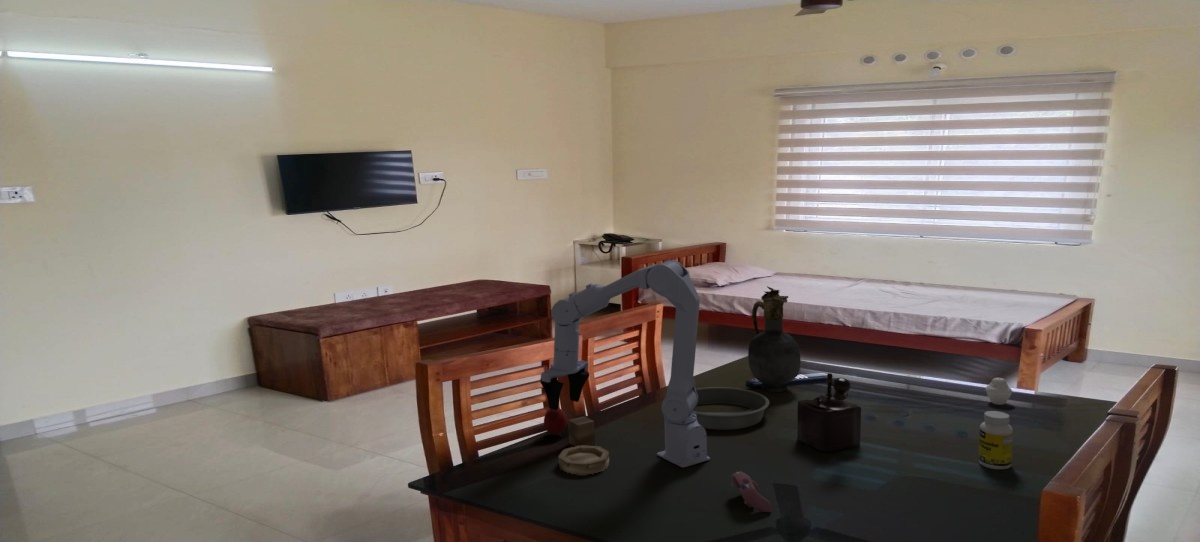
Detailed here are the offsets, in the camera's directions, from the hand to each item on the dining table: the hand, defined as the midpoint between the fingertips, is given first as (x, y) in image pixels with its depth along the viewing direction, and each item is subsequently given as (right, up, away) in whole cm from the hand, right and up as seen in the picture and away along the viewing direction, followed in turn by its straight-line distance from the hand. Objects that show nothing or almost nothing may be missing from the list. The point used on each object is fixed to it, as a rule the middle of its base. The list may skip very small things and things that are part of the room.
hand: (564, 404), depth 175 cm
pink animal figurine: (+37, -13, -32) cm, 51 cm away
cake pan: (+40, -7, +19) cm, 45 cm away
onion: (-2, -9, +8) cm, 12 cm away
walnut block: (+4, -10, +1) cm, 11 cm away
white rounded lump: (+114, -4, +21) cm, 116 cm away
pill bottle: (+92, -10, -18) cm, 94 cm away
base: (+5, -11, -11) cm, 17 cm away
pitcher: (+58, -3, +42) cm, 72 cm away
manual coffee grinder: (+62, -9, -5) cm, 63 cm away
